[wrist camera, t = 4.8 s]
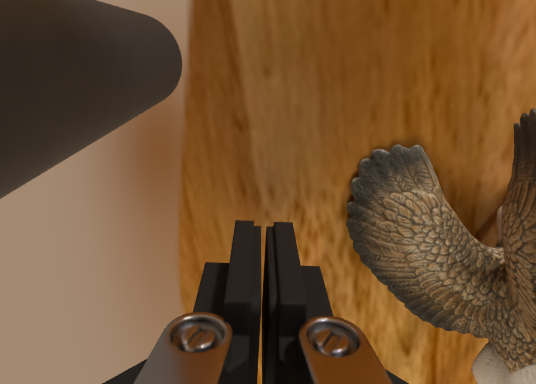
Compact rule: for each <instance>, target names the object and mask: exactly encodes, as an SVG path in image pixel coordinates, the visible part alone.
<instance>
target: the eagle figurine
mask: <svg viewBox="0 0 536 384" xmlns="http://www.w3.org/2000/svg"><path fill="white" fill-rule="evenodd" d="M514 145H515V147H514V160H513V166H512V176H511V179H510V181H509V184H508V189H507V193H506V197H505V200H504V202H503V205H502V206H501V207H499V209H498V210H497V216H496V218H497V231H498V240H497V244H496V247H495V248H492V247H489V246H486V245H484V244H482V243H481V242H479V241H478V240H477V239H476V238H475V237H473V236H472V235H471V234H470V233H469V231H468V230H467V229H466V227H465V226H464V225H463V223H462V222H461V221H460V219H459V218H458V216H457V215H456V213H455V212H454V210H453V209H452V208H451V206H450V205H449V203H448V202H447V201H446V199H445V197H444V195H443V192H442V189H441V187H440V184H439V182H438V178H437V176H436V174H435V172H434V171H433V168H432V165H431V162H430V160H429V158H428V156H427V155H426V153H425V152H424V149H423V148H422V147H421V146H420V145H414V146H412V147H411V148H409V149H407V148H405V147H403V146H401V145H399V144H397V145H394V146H393V147H392V148H391V149H390V151H389V152H387V151H385V150H383V149H375V150H373V151H372V153H371V157H370V158H365V159H362V160H361V161H360V163H359V165H358V167H359V177H358V178H354V179H353V180H352V182H351V192H352V195H353V196H354V198H355V201H354V202H348V204H347V210H348V211H349V214H350V215H351V217H350V218H348V219H347V227H348V230H349V236H350V238H351V239H352V240H353V248H354V249H355V251H356V252H357V253H358V254H359V255H360V258H361V261H362V263H363V264H364V265H365V266H367V267H368V268H370V269H371V271H372V273H373V274H374V275H375V276H376V277H377V279H378V280H379V281H380V282H381V283H383V284H384V285H387V286H388V289H389V291H391V292H392V293H393V294H394V295H395V297H396V298H397V299H398V300H399V301H401V302H403V303H405V307H406V308H407V309H408V310H410V311H411V313H412V314H414V315H417V316H418V317H419V318H420V319H421V320H423V321H427V322H429V323H431V324H432V325H433V326H435V327H437V328H438V327H441V328H443V329H444V330H447V331H452V330H453V331H457V332H459V333H463V334H466V333H471V334H472V335H473V336H475V337H477V338H483V337H485V338H488V340H489V342H488V343H487V344H486V345H485V346H484V348H483V349H482V350H481V352H480V353H479V354H478V356H477V357H476V358H475V360H474V362H473V364H472V368H471V369H472V372H473V376H474V377H475V379H476V382H477V384H536V109H535V108H533V109H531V110H530V114H528V113H523V114H522V115H521V118H520V124H519V123H515V124H514Z"/></svg>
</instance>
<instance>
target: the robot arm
mask: <svg viewBox="0 0 536 384" xmlns="http://www.w3.org/2000/svg"><path fill="white" fill-rule="evenodd" d="M260 318H261V226H254V221H240V220H236V221H235V228H234V235H233V242H232V249H231V256H230V263H212V262H206V263H205V266H204V270H203V274H202V278H201V282H200V286H199V290H198V294H197V298H196V302H195V306H194V310H193V313H187V314H185V315H182V316H179V317H177V318H176V319H174V320H173V321H171V322H170V323H169V324H168V326H167V327H166V328H165V329H164V331H163V333H162V334H161V336H160V338H159V340H158V342H157V343H156V345H155V347H154V349H153V350H152V352H151V354H150V356H149V357H148V359H146V360H144V361H142V362H141V363H139V364H137V365H135V366H133V367H132V368H130V369H128V370H126V371H124V372H123V373H121V374H119V375H117V376H115V377H114V378H112V379H110V380H108V381H106V382H105V383H103V384H257V372H258V354H259V336H260ZM262 384H408V383H407V382H405V381H404V380H402V379H400V378H399V377H397V376H395V375H394V374H392V373H391V372H389V371H387V370H386V369H384V367H383V365H382V364H381V362H380V360H379V358H378V357H377V355H376V353H375V352H374V350H373V348H372V346H371V345H370V343H369V341H368V339H367V338H366V336H365V335H364V333H363V332H362V331H361V330H360V328H358V327H357V326H356V325H354V324H353V323H351V322H349V321H347V320H345V319H342V318H338V317H334V316H333V313H332V310H331V306H330V302H329V299H328V295H327V291H326V288H325V284H324V280H323V277H322V273H321V269H320V267H318V266H300V260H299V255H298V249H297V244H296V239H295V233H294V228H293V223H289V222H274V226H273V227H268V226H267V228H266V245H265V262H264V280H263V297H262Z"/></svg>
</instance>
